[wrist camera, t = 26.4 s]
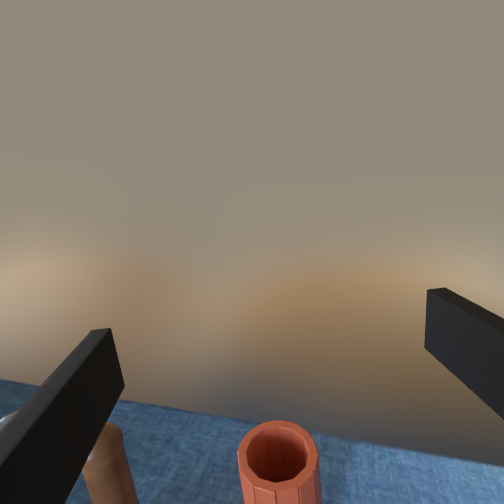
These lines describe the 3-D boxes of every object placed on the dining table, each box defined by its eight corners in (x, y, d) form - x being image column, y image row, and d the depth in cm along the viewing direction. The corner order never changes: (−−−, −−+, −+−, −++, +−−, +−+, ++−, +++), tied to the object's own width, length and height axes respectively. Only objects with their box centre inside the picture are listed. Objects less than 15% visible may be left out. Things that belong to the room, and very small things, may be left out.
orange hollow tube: (238, 565, 27) (224, 477, 24) (264, 490, 33) (254, 414, 30) (316, 598, 24) (308, 503, 22) (327, 510, 30) (323, 428, 28)
